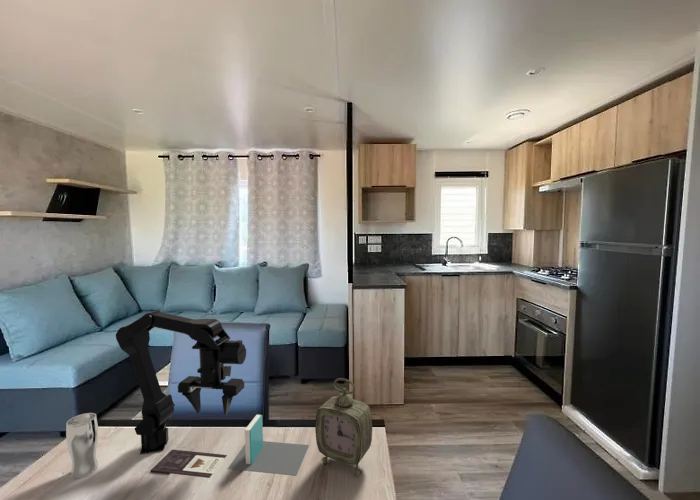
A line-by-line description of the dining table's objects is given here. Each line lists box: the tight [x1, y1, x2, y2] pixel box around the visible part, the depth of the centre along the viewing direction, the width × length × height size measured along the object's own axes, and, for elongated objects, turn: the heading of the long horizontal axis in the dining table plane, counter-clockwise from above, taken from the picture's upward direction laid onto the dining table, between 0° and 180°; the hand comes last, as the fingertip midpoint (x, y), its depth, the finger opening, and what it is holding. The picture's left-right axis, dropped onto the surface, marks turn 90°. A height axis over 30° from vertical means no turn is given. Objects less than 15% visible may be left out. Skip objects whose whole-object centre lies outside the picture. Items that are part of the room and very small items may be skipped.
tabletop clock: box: [314, 377, 373, 477], centre depth 96 cm, size 14×9×25 cm, turn 62°
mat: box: [227, 440, 310, 476], centre depth 99 cm, size 20×13×1 cm, turn 81°
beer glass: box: [65, 412, 99, 479], centre depth 94 cm, size 7×7×15 cm
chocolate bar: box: [150, 449, 228, 478], centre depth 97 cm, size 9×1×18 cm
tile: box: [244, 414, 264, 464], centre depth 100 cm, size 2×8×10 cm, turn 171°
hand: (212, 413), depth 101 cm, fingers open, 9 cm apart
